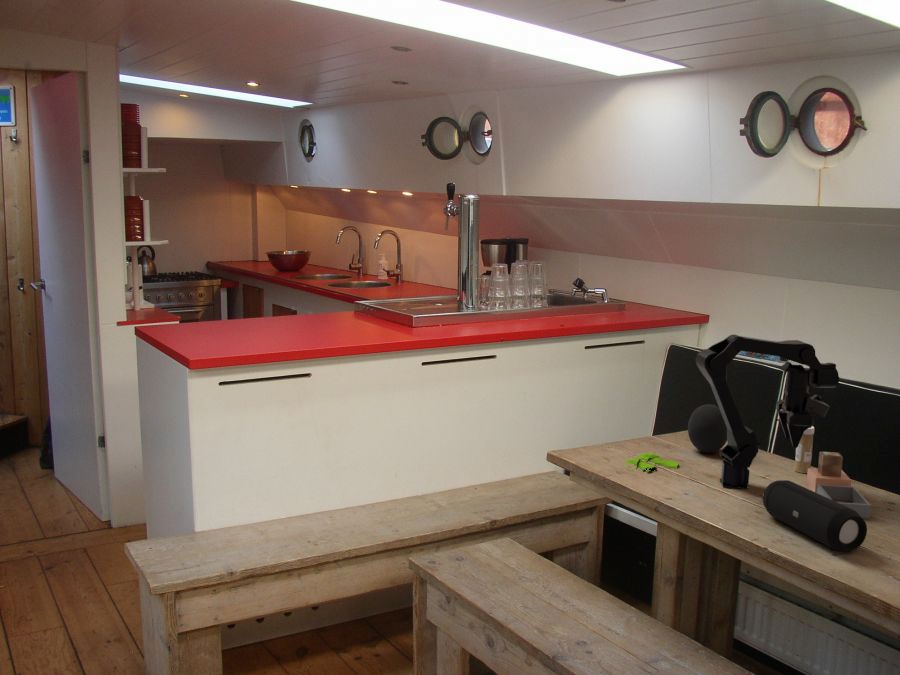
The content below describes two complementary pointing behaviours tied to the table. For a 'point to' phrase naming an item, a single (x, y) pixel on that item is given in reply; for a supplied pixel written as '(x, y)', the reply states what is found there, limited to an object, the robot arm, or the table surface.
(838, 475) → the walnut box
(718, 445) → the decorative egg
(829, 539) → the portable speaker
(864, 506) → the charcoal bin
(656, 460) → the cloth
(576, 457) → the table surface
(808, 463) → the sprinkles bottle
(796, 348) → the robot arm
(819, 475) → the terracotta stand
